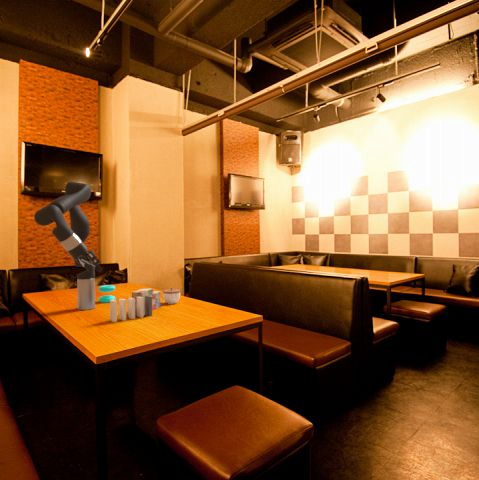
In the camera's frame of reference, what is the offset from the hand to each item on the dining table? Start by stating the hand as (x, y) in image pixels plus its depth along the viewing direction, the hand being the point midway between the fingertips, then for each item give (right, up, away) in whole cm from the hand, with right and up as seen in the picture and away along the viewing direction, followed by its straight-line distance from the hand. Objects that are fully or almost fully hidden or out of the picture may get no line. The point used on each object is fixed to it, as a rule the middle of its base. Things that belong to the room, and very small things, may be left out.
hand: (96, 271), depth 155 cm
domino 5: (+20, -25, +17) cm, 36 cm away
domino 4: (+16, -25, +14) cm, 33 cm away
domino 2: (+10, -25, +8) cm, 28 cm away
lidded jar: (+25, -25, +49) cm, 61 cm away
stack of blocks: (+16, -25, +28) cm, 41 cm away
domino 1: (+6, -25, +5) cm, 26 cm away
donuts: (-17, -25, +56) cm, 63 cm away
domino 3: (+13, -25, +11) cm, 30 cm away
